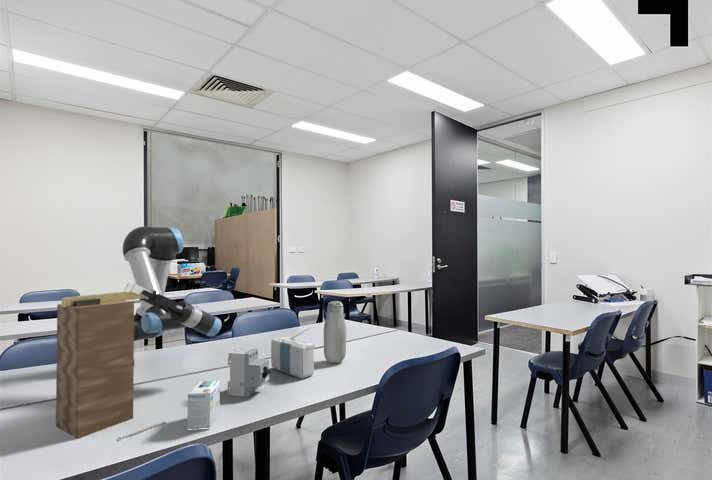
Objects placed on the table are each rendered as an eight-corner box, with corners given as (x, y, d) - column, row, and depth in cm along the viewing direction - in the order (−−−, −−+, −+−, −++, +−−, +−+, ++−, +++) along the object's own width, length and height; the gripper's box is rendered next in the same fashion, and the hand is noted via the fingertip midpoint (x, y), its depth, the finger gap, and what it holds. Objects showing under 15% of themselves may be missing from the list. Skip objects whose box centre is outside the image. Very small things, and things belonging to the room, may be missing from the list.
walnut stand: (55, 426, 114) (57, 299, 114) (110, 408, 126) (111, 294, 127) (77, 438, 106) (79, 302, 107) (133, 418, 119) (134, 296, 120)
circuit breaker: (264, 398, 135) (264, 355, 135) (227, 395, 138) (227, 352, 138) (273, 390, 142) (273, 349, 142) (238, 387, 145) (238, 347, 145)
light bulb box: (198, 414, 121) (198, 380, 122) (220, 414, 122) (220, 379, 122) (186, 431, 111) (186, 393, 111) (210, 430, 111) (210, 392, 111)
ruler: (120, 441, 105) (120, 438, 105) (118, 440, 106) (118, 436, 106) (165, 425, 115) (165, 421, 115) (163, 423, 116) (163, 420, 116)
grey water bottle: (333, 367, 169) (333, 303, 170) (319, 362, 177) (319, 301, 177) (350, 362, 176) (350, 301, 176) (336, 357, 183) (336, 299, 184)
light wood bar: (61, 306, 111) (61, 297, 111) (150, 296, 133) (150, 289, 133) (66, 307, 109) (66, 298, 109) (155, 297, 131) (155, 289, 131)
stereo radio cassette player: (270, 369, 166) (270, 323, 167) (285, 365, 172) (285, 320, 173) (300, 381, 152) (300, 330, 152) (316, 375, 158) (316, 327, 158)
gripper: (177, 302, 148) (122, 275, 131) (204, 306, 140) (149, 277, 123) (168, 321, 145) (110, 296, 128) (194, 325, 136) (137, 299, 119)
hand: (129, 287), depth 125 cm, fingers closed on light wood bar, 3 cm apart
